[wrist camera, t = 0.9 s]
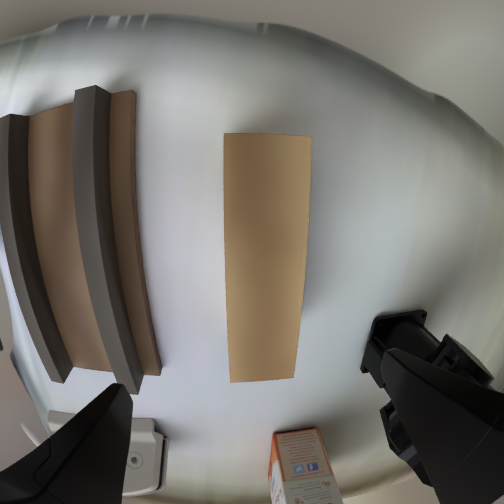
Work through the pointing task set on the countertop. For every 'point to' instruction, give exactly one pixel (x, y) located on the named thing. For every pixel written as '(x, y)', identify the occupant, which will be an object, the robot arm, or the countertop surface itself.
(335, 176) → the countertop surface
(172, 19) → the countertop surface
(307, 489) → the cracker box
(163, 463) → the grey upright panel
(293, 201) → the wooden block
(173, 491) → the countertop surface
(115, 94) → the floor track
